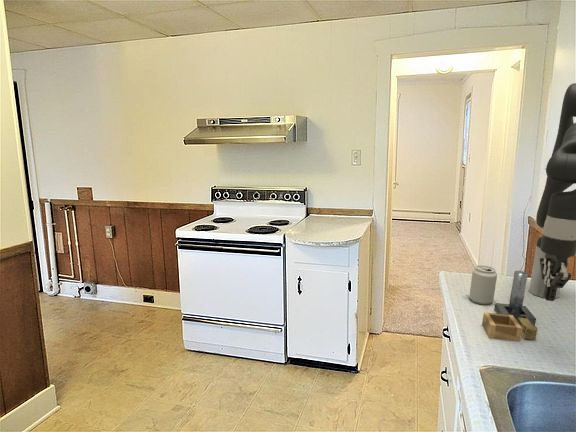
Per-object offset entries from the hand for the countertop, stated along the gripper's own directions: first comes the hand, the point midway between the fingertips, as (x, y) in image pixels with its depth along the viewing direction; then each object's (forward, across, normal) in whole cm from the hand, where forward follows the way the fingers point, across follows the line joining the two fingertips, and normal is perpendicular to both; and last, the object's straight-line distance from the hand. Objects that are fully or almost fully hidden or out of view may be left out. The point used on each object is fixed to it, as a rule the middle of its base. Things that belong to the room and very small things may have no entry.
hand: (548, 299), depth 105 cm
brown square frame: (+15, +9, +7) cm, 19 cm away
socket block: (+15, +20, 0) cm, 25 cm away
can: (+15, +31, +7) cm, 35 cm away
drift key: (+15, +10, 0) cm, 18 cm away
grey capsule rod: (+15, +20, 0) cm, 25 cm away
